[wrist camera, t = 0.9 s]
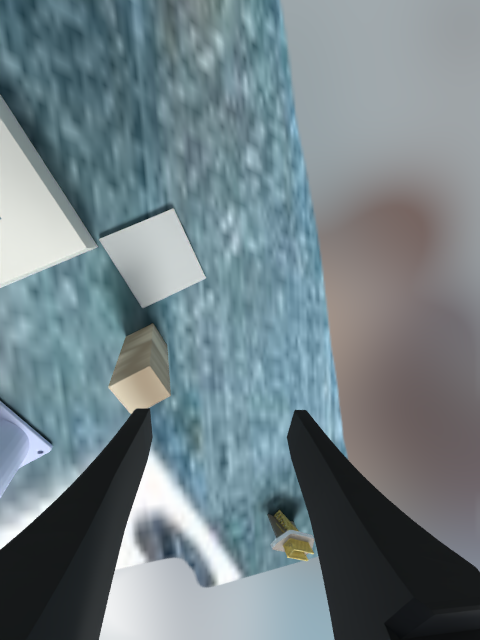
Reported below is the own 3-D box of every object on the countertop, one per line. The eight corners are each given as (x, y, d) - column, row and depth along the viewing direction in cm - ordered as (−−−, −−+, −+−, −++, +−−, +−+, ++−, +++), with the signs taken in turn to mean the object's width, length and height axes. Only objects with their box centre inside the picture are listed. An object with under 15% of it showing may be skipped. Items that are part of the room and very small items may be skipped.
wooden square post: (141, 358, 25) (132, 416, 17) (125, 336, 24) (108, 387, 15) (167, 345, 25) (170, 395, 17) (153, 323, 24) (149, 365, 16)
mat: (142, 307, 23) (142, 308, 23) (100, 239, 20) (98, 239, 20) (205, 277, 24) (206, 278, 24) (173, 209, 21) (173, 208, 21)
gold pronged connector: (274, 477, 39) (294, 519, 33) (328, 500, 47) (352, 537, 41) (228, 527, 40) (240, 577, 34) (290, 541, 48) (308, 584, 42)
